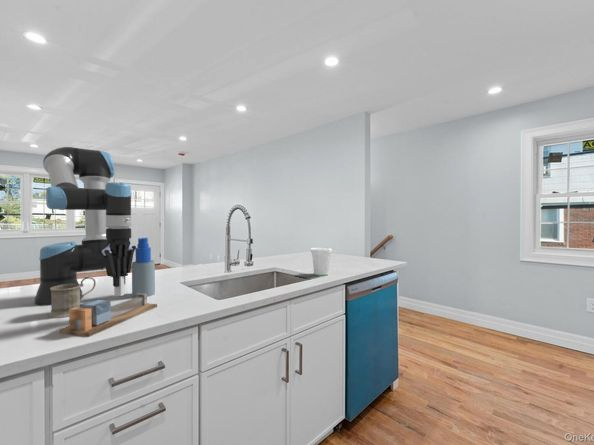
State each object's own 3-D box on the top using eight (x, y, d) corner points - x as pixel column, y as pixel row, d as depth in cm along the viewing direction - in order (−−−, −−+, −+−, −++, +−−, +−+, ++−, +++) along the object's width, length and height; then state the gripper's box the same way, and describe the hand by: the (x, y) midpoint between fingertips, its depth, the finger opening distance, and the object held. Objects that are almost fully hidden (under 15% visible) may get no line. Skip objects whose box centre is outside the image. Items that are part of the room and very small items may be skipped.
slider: (80, 323, 91) (79, 304, 91) (94, 317, 96) (94, 299, 96) (96, 325, 90) (96, 305, 89) (110, 319, 94) (110, 301, 94)
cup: (332, 276, 166) (332, 250, 166) (310, 276, 166) (310, 249, 166) (330, 272, 179) (330, 247, 178) (310, 272, 179) (310, 247, 178)
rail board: (59, 332, 87) (59, 309, 87) (133, 304, 114) (132, 286, 114) (89, 336, 85) (88, 312, 84) (157, 306, 112) (156, 288, 112)
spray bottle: (145, 290, 135) (145, 236, 134) (159, 293, 131) (158, 237, 130) (127, 295, 126) (126, 238, 126) (141, 298, 123) (140, 239, 122)
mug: (55, 320, 98) (54, 284, 97) (43, 314, 103) (42, 280, 102) (102, 308, 110) (101, 276, 109) (89, 304, 115) (89, 273, 115)
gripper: (111, 229, 94) (112, 301, 95) (142, 226, 106) (142, 290, 107) (92, 228, 96) (93, 299, 97) (125, 226, 108) (125, 289, 109)
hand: (119, 294), depth 102 cm, fingers closed
